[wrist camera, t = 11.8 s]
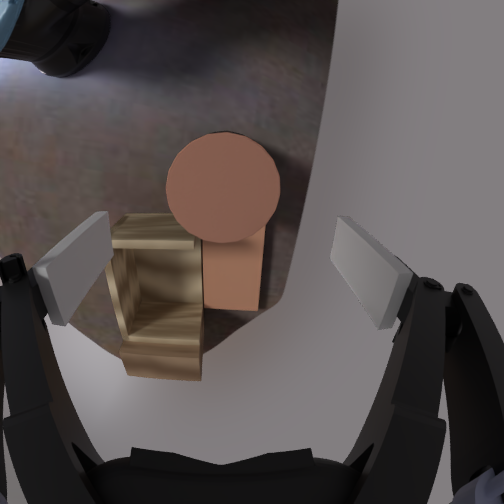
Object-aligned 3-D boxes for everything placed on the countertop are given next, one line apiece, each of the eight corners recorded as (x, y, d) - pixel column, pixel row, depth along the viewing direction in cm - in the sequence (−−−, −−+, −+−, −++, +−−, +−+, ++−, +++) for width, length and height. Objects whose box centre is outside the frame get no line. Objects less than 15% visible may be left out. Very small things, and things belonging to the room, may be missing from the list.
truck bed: (125, 213, 42) (91, 248, 29) (201, 213, 43) (191, 250, 31) (143, 324, 52) (128, 375, 40) (204, 327, 54) (201, 381, 41)
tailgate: (202, 215, 42) (265, 218, 43) (203, 213, 43) (265, 216, 44) (204, 308, 50) (257, 310, 50) (205, 304, 51) (257, 307, 51)
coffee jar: (269, 146, 40) (300, 159, 24) (243, 206, 44) (253, 258, 27) (205, 121, 37) (188, 115, 21) (180, 184, 41) (151, 223, 25)
